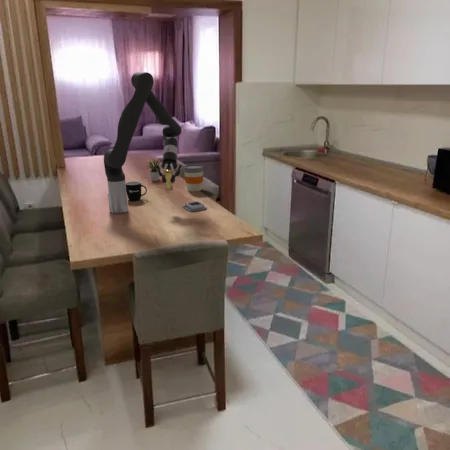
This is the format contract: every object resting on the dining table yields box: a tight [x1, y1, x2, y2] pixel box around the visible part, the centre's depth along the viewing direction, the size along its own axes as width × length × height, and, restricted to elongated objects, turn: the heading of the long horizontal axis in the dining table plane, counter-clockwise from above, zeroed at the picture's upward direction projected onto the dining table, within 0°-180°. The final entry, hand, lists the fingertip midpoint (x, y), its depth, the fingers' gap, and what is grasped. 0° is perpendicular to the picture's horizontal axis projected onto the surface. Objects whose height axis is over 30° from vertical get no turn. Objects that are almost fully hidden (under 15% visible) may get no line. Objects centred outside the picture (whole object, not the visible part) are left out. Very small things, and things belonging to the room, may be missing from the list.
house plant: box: [145, 157, 163, 182], centre depth 303 cm, size 14×14×16 cm
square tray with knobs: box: [182, 200, 208, 213], centre depth 237 cm, size 10×10×3 cm
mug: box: [126, 180, 148, 202], centre depth 256 cm, size 12×9×10 cm
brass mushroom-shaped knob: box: [163, 169, 174, 192], centre depth 229 cm, size 5×5×11 cm
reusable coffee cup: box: [183, 164, 205, 192], centre depth 275 cm, size 13×13×15 cm
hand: (168, 182), depth 227 cm, fingers closed on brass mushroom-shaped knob, 4 cm apart
